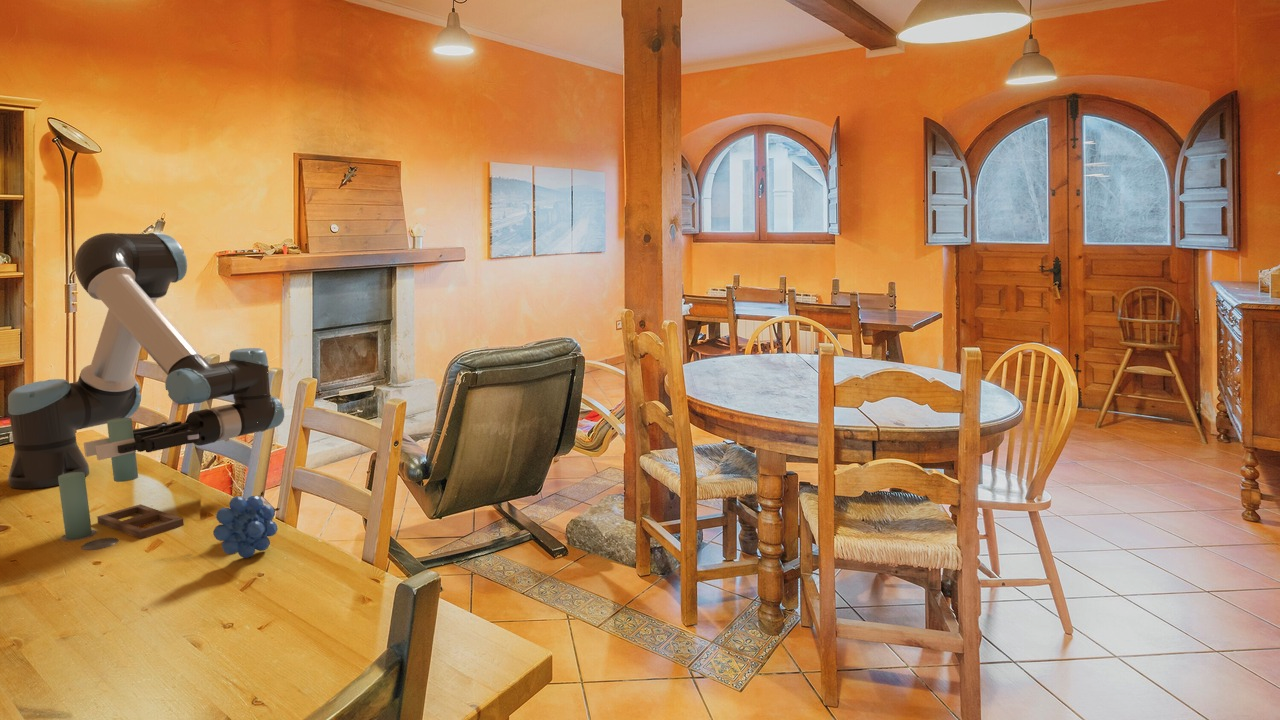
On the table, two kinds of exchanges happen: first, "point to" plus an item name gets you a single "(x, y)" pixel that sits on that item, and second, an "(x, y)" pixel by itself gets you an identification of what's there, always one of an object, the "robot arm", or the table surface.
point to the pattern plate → (94, 542)
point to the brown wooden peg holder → (140, 521)
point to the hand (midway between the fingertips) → (91, 451)
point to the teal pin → (125, 463)
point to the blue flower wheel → (245, 526)
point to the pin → (75, 505)
